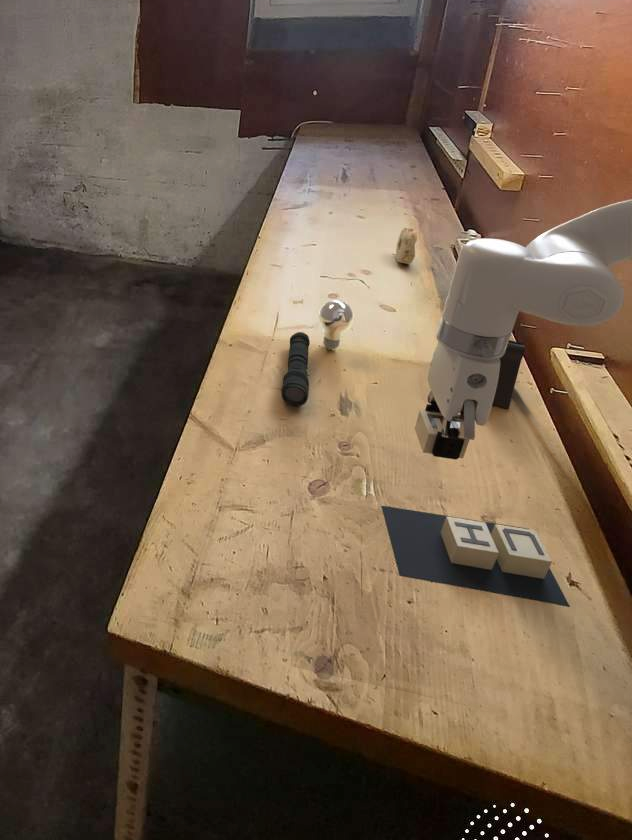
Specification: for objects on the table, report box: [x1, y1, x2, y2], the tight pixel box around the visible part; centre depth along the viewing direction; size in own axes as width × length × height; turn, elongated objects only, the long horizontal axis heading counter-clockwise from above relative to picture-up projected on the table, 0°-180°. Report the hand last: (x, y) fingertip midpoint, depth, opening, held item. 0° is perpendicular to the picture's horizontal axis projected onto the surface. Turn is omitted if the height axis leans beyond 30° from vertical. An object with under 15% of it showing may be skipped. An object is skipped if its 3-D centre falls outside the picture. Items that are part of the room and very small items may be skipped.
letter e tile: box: [414, 409, 471, 459], centre depth 79 cm, size 5×5×4 cm
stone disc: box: [395, 227, 418, 265], centre depth 162 cm, size 10×4×10 cm, turn 161°
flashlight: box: [280, 331, 311, 407], centre depth 116 cm, size 5×21×5 cm, turn 159°
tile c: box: [491, 523, 553, 579], centre depth 77 cm, size 5×5×4 cm
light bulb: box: [318, 299, 355, 351], centre depth 123 cm, size 7×7×12 cm
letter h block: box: [441, 515, 499, 570], centre depth 79 cm, size 5×5×4 cm
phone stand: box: [492, 339, 526, 410], centre depth 108 cm, size 9×6×12 cm, turn 150°
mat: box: [380, 505, 570, 608], centre depth 79 cm, size 20×12×1 cm, turn 76°
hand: (439, 440), depth 80 cm, fingers closed on letter e tile, 5 cm apart
